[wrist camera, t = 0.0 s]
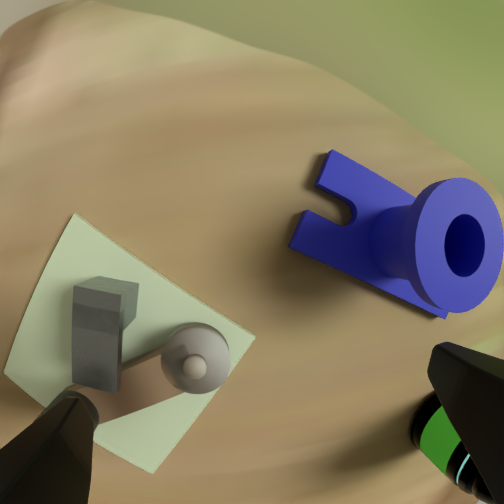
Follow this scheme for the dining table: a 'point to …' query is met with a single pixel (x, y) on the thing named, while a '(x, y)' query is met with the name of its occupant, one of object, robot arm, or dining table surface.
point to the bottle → (446, 448)
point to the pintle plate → (133, 345)
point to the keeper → (101, 330)
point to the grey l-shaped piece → (160, 374)
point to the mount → (408, 237)
